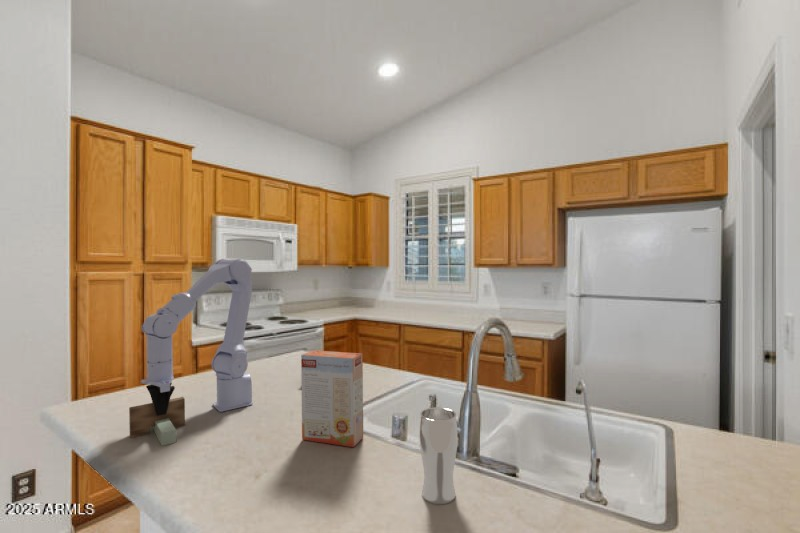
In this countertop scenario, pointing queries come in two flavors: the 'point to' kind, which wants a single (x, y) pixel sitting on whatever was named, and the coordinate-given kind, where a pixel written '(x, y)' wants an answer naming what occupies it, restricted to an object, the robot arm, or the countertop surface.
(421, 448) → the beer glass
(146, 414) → the walnut plate
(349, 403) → the cracker box
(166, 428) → the slotted rail
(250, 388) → the robot arm
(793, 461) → the countertop surface
